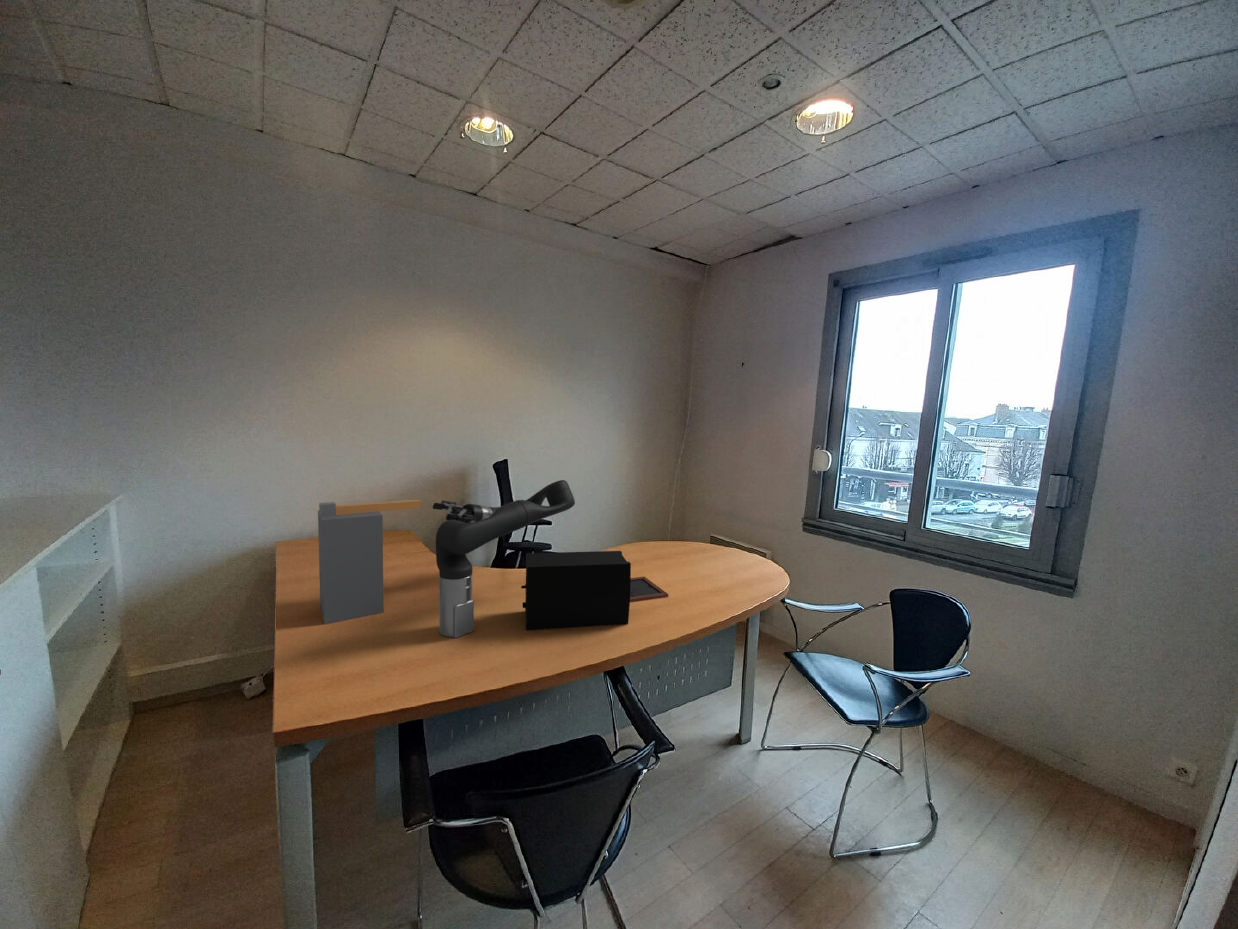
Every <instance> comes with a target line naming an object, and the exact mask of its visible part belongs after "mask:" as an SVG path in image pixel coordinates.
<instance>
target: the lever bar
mask: <svg viewBox="0 0 1238 929" xmlns="http://www.w3.org/2000/svg"><path fill="white" fill-rule="evenodd" d="M318 508H319V509H318V510H319V514H320V516H332V515H340V514H353V513H365V512H378V511H379V512H387V511H389V512H390V511H400V510H401V511H402V510H413V509H421V508H422V500H420V499H418V498H417V499H407V500H393V501H379V502H378V501H377V502H365V503H364V502H363V503H361V502H360V503H349V504H348V503H347V504H336V503H335V501H329V502H328V501H327V502H318Z"/></svg>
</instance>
